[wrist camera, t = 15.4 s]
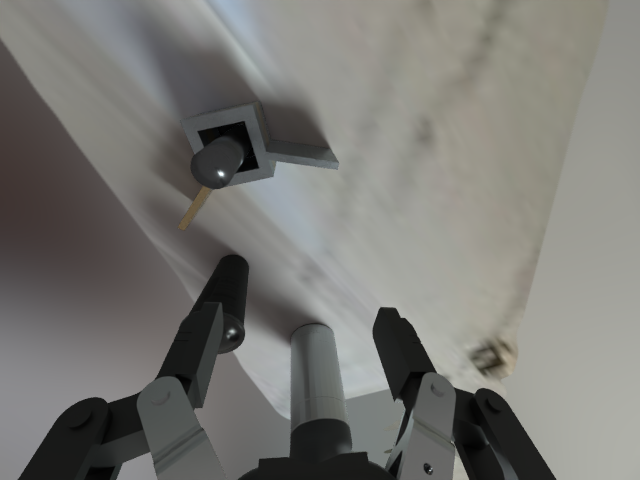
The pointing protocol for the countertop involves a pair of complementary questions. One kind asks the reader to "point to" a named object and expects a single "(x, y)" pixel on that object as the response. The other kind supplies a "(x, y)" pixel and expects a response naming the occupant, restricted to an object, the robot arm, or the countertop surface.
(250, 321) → the countertop surface
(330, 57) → the countertop surface
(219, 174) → the hinge pin
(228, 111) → the hinge
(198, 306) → the drinking cup
